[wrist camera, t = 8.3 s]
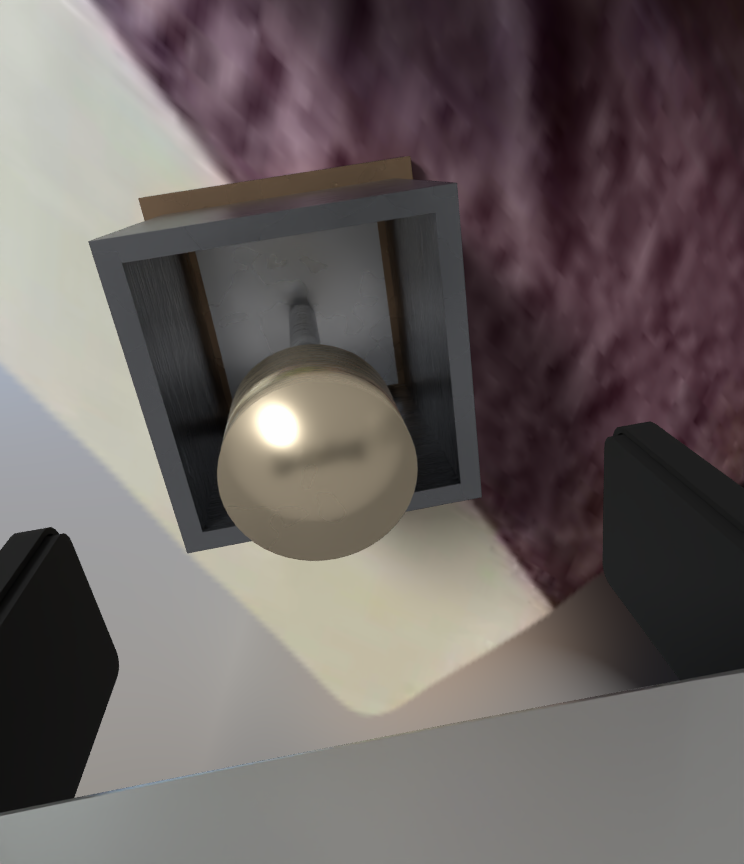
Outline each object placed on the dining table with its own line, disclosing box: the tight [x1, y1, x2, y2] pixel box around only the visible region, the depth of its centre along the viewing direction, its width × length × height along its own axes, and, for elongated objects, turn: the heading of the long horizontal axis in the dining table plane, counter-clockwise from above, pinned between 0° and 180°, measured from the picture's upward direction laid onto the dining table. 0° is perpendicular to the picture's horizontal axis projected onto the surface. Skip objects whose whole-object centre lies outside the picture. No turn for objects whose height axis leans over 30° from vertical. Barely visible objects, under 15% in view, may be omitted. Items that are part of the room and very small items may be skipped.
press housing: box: [88, 156, 482, 553], centre depth 25 cm, size 12×12×12 cm
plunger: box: [195, 222, 418, 561], centre depth 21 cm, size 8×8×17 cm
